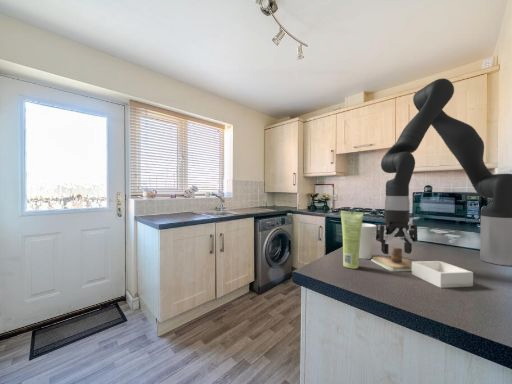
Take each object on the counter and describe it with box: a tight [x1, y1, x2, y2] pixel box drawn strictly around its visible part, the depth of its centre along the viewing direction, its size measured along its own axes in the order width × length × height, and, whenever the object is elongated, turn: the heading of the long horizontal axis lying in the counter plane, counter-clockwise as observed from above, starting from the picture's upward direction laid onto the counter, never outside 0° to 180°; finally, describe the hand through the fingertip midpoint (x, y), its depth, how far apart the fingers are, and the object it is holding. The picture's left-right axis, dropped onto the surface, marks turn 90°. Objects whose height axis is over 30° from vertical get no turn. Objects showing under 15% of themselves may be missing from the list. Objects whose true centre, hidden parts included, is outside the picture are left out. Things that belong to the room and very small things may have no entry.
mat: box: [370, 258, 412, 273], centre depth 79 cm, size 12×11×1 cm
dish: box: [411, 260, 474, 289], centre depth 66 cm, size 10×10×4 cm
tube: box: [340, 210, 364, 270], centre depth 77 cm, size 6×5×20 cm
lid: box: [372, 247, 414, 270], centre depth 79 cm, size 11×11×5 cm
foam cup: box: [359, 222, 377, 260], centre depth 89 cm, size 10×9×13 cm
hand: (396, 253), depth 79 cm, fingers open, 8 cm apart
